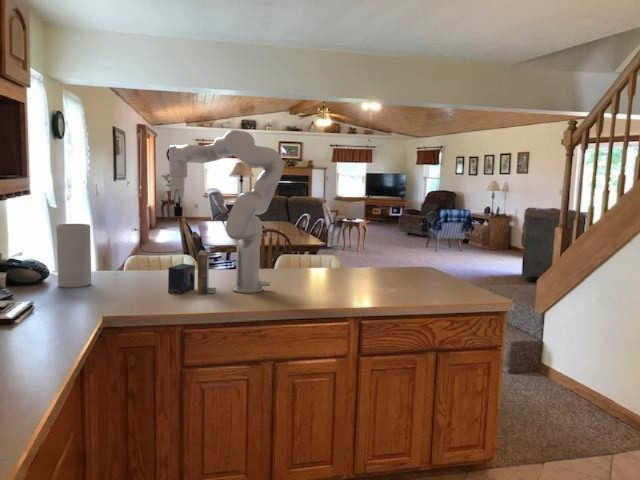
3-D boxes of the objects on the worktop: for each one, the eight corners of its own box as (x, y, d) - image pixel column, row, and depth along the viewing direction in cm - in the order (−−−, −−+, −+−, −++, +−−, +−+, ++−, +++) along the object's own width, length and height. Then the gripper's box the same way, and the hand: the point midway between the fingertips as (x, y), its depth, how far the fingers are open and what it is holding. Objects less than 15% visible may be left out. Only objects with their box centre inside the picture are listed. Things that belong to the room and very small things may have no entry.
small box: (181, 294, 201) (181, 268, 199) (167, 293, 203) (167, 267, 201) (195, 289, 211) (195, 264, 210) (181, 287, 213) (181, 263, 211)
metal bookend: (215, 288, 214) (216, 255, 212) (214, 294, 203) (214, 259, 201) (207, 288, 213) (207, 255, 211) (205, 294, 202) (205, 259, 201)
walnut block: (207, 288, 214) (207, 250, 212) (205, 294, 202) (205, 255, 200) (199, 288, 213) (200, 250, 211) (197, 294, 201) (197, 255, 199)
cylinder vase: (78, 289, 204) (76, 227, 201) (51, 286, 206) (49, 225, 203) (97, 283, 216) (96, 224, 213) (71, 280, 218) (70, 223, 215)
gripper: (171, 173, 227) (171, 214, 229) (167, 173, 212) (167, 217, 215) (188, 174, 228) (188, 214, 231) (185, 174, 214) (185, 217, 216)
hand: (178, 215), depth 223 cm, fingers closed
